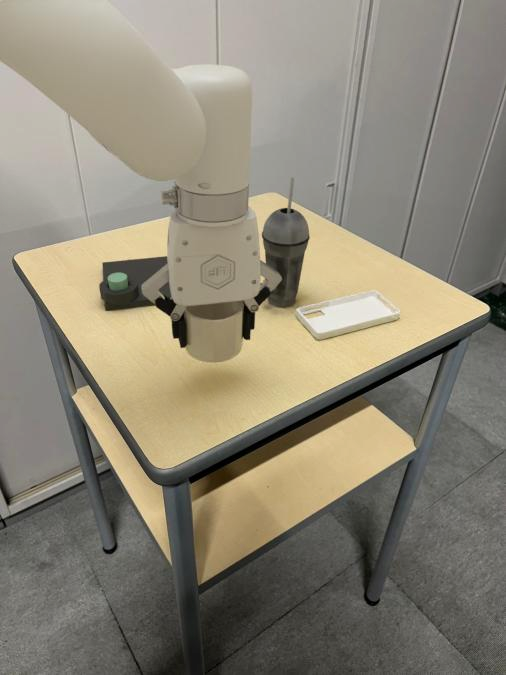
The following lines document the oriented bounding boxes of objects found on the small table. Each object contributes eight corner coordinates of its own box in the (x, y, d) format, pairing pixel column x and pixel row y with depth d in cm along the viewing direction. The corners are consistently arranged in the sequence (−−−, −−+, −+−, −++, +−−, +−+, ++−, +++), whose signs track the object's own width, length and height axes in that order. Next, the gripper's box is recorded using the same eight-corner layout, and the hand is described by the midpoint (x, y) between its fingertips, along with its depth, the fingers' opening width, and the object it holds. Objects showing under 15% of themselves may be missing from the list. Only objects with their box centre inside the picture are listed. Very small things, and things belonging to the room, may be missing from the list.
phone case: (317, 341, 76) (401, 319, 81) (318, 333, 75) (402, 311, 80) (294, 315, 81) (373, 296, 86) (294, 307, 80) (375, 289, 85)
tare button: (109, 292, 81) (107, 282, 79) (108, 283, 83) (107, 273, 82) (129, 290, 81) (127, 280, 80) (127, 281, 83) (126, 271, 82)
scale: (102, 312, 81) (99, 296, 79) (100, 268, 92) (98, 253, 90) (206, 300, 84) (206, 284, 82) (192, 259, 95) (191, 244, 94)
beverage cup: (251, 304, 83) (254, 183, 72) (271, 284, 89) (277, 168, 77) (292, 317, 81) (302, 193, 69) (310, 295, 86) (322, 176, 74)
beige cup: (189, 366, 61) (187, 324, 58) (181, 331, 67) (178, 291, 63) (248, 358, 63) (250, 317, 59) (235, 325, 68) (236, 286, 65)
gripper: (129, 219, 49) (145, 365, 59) (303, 208, 53) (289, 346, 63) (124, 191, 55) (140, 328, 65) (281, 183, 59) (272, 313, 69)
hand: (213, 336), depth 64 cm, fingers closed on beige cup, 7 cm apart
